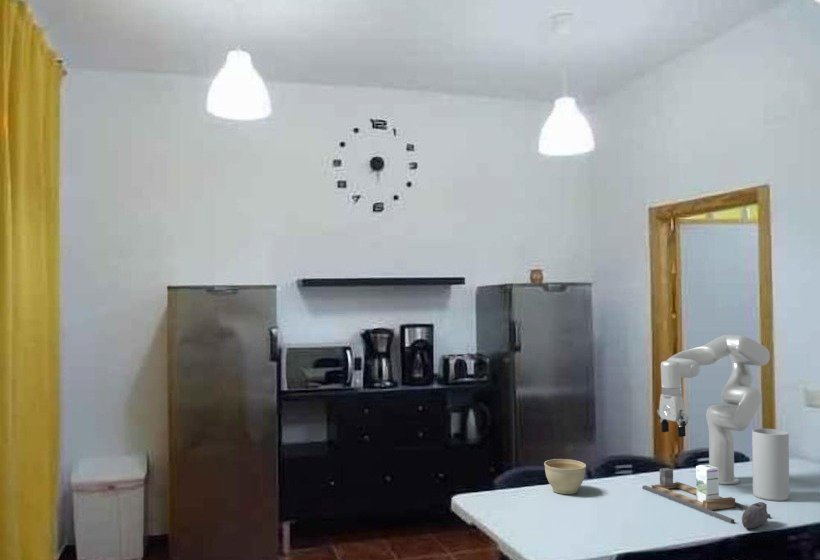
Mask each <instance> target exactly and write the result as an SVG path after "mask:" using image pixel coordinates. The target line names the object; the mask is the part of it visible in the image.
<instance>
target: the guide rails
mask: <svg viewBox="0 0 820 560" xmlns="http://www.w3.org/2000/svg"><path fill="white" fill-rule="evenodd" d="M676 482H678V483H681V484H684V485H687V486H690V487H692V488H695V489H696V487H694V486H691V485H688V484H686V483H683V482H680V481H674V483H676ZM642 489H643V490H645V491H648V492H650V493H652V494H654V495H657V494H658V496H659V497H660V496H661V497H662V496H663V498H665V499H668V500H671V501H673V502H676V503H678V504H681V505H683V506H686V507H688V508H690V509H694V510H696V511H698V512H700V513H703V512H704V514H706V515H708V514H709V515H708V516H710V517H713V516H714V518H716V519H718V518H719V520H721V521H723V520H724V522H726V523H729V524H735V518H732V517H729V516H727V515H725V514H723V513H722V514H721V513H718V512H716V511H715V510H709V509H706V508H703V507H701V506H698V505H696V504H693V503H690V502H688V501H685V500H683V499H680V498H677V497H675V496H672V495H670V494H667V493H664V492H662V491H659V490H656V489H654V488H651V486H648V485H642ZM719 497H721V498H724V497H722V496H720V495H719ZM748 507H749V506H747V505H744V504H742V503H739V502H737V501H735V507H734V508H738V509H740V510H743V511H745V510H746V509H747V508H748ZM768 519H771V513H768Z"/></svg>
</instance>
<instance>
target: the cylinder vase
mask: <svg viewBox="0 0 820 560" xmlns="http://www.w3.org/2000/svg"><path fill="white" fill-rule="evenodd" d="M751 431H752V432H751V433H752V434H751V435H752V436H751V437H752V440H751V441H752V442H751V444H752V455H751V456H752V495H753V496H754V497H755V498H758V499H761V500H765V501H769V502H770V501H771V502H784V501H787V500H789V499H790V451H789V448H790V446H789V443H790V439H789V432H788V431H785V430H781V429H776V428H775V429H774V428H755V429H751Z"/></svg>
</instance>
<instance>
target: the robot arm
mask: <svg viewBox="0 0 820 560" xmlns="http://www.w3.org/2000/svg"><path fill="white" fill-rule="evenodd" d="M770 353H771V352H770V351H769V349H768V348H767V347H766V346H765V345H763V344H761V343H759V342H758V341H756V340H754V339H752V338H751V337H748V336H746V335H742V334H741V335H740V334H723V335H720V336H718V337H716V338H715V339H712V340H710V341H709V342H707V343H706V344H704V345H701V346H696V347H693V348H690V349H686V350H682V351H679V352H677V353H674V354H673V355H671V356H670V357H669V358H667V360H664V361H661V363H660V378H661V381H660V383H661V393H660V397H659V408H658V409H657V410H656V412H657V415H658V418H659V422H660V426H661V427H660V428H661V433H668V432H669V431H670V427H669V426H670V425H669V423H670V422H673V423H674V422H676V424H677V425H678V426H677V437H678V438H683V437H686V427H687V425H688V424H689V422H688V421H689V419H690V417H689V415H688V414H686V413H685V403H684V399H683V395H682V394H683V392H682V391H683V390H682V378H683V379H686V378H687V379H693V378H695V377H697V376H698V375H699V374H700V372H701V366H702V367H703V366H704V367H705V366H711V365H714V364H717V363H718V362H720V361H721V360H723V359H725V358H727V357H729V360H730V362H731V363H730V364H731V367H732V370H731V374H730V376H729V378H728V380H727V382H726V384H725V386H724V387H723V389H722V391H721V393H720V401H721V402H722V403H723V404H718V403H716V404H712V405H710V406H709V407H708V408H707V409H706V414H705V418H706V422H707V423H706V424H707V428H708V457H709V458H708V459H709V461H708V465H709V466H713V467H716V468H718V472H719V485H736V484H738V483H739V479H738V477H736V476H735V450H734V449H735V439H734V435H733V432H734V431H736V432H744V431H745V430H747V428H749V426H750V424H751V423H752V421H753V419H754V417H755V416H756V414H757V411H758V410H759V408H760V405H761V401H762V396H761V395H762V394H761V392H760V390H758V388H756V387H754V386H752V383H753V379H754V377H753V373H752V371H751V368H750V366H754V367H755V366H757V367H758V366H759V367H763V366H765V365H767V364H768V363H769V362H770V359H771V354H770ZM669 421H670V422H669Z"/></svg>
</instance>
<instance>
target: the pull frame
mask: <svg viewBox="0 0 820 560" xmlns="http://www.w3.org/2000/svg"><path fill="white" fill-rule="evenodd" d="M675 482H676V483H675ZM675 482H674V469H673V468H672V469H671V468H669V467H667V468H666V467H664V468H660V469H659V484H651V486H650V487H651V488H654V489H656V490H659V491H662V492H664V493H667V494H670V495H672V496H675V497H677V498H680V499H683V500H685V501H688V502H690V503H693V504H696V505H698V506H701V507H703V508H706V509H709V510H711V511H715V510H721V509H728V508H736V507H735V502H736V498H735V497H732V496H729V497H723V498H721V497H722V496H720V497H719V499H712V500H704V501H703V502H700V501H697V499H695V498H692V497H690V496H689V497H688V496H686V495H683V494H681V493H678V492H676V491H673V490H671V489H680V490H682V491H686V492H688V493H691V494H694V495H696V496H697V494H696V489H695V488H696V487H694V488H692V487H693V486H691V485H689V486H687V485H688V484H686V485H684V484H685V483H683V484H681V483H682V482H680V483H678V482H679V481H675ZM690 486H691V487H690Z"/></svg>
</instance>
